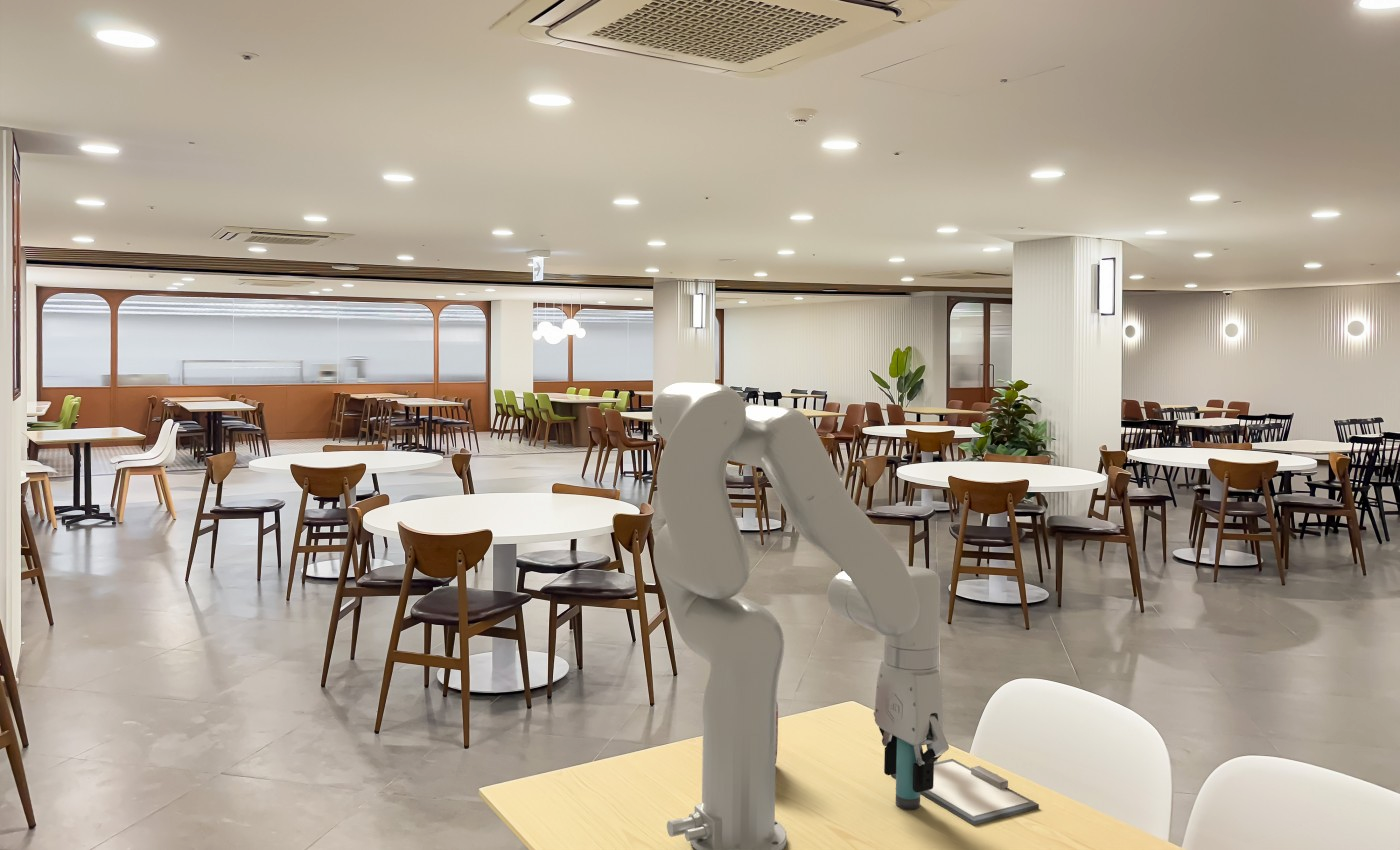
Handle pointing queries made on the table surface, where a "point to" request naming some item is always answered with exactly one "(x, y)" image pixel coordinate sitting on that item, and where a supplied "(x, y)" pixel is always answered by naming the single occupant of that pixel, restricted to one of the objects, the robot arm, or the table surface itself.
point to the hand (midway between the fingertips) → (908, 780)
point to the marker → (905, 777)
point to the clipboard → (974, 793)
